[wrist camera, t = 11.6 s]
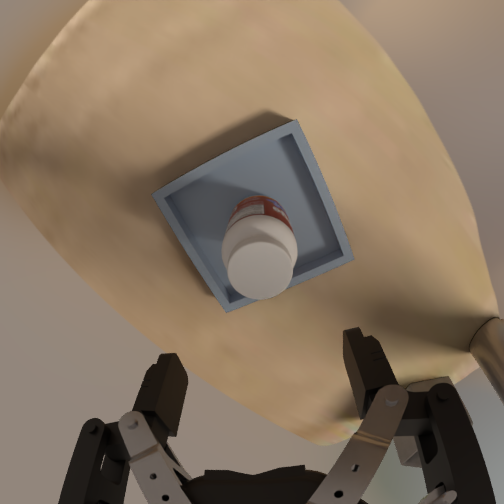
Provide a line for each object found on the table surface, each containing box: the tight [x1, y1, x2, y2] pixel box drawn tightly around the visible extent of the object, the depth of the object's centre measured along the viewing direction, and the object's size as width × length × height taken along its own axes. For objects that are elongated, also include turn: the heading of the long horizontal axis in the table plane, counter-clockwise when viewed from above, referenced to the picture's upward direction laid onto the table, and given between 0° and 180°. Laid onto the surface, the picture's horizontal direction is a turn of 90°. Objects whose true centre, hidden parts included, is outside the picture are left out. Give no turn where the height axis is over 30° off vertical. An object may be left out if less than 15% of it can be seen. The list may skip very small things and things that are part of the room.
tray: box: [151, 119, 354, 313], centre depth 29 cm, size 16×16×2 cm
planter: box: [393, 376, 473, 468], centre depth 36 cm, size 16×8×19 cm, turn 129°
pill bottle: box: [221, 195, 298, 300], centre depth 25 cm, size 6×6×11 cm
